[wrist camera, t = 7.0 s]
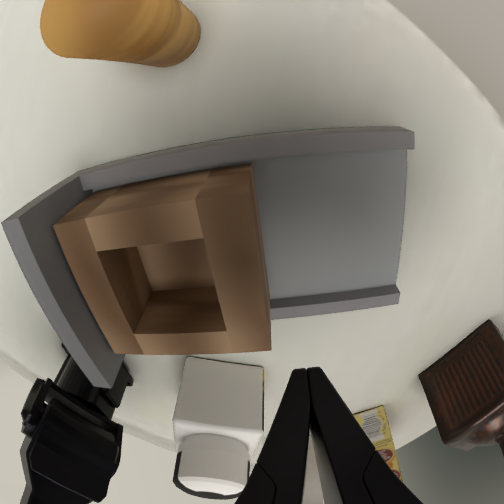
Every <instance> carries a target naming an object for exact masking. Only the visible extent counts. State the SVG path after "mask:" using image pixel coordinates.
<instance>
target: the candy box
mask: <svg viewBox="0 0 504 504" xmlns="http://www.w3.org/2000/svg"><path fill="white" fill-rule="evenodd" d="M353 416H354V417H355V419H356V420H357V421H358V423H359V424H360V426H361V427H362V429H363V430H364V432H365V433H366V435H367V436H368V437H369V439H370V440H371V442H372V443H373V445H374V446H375V448H376V449H375V450H378V452H379V453H380V455H381V456H382V458H383V459H384V460H385V462H386V463H387V464H388V466H389V467H390V468H391V470H392V471H393V472H394V473H395V474H396V476H397V477H398V478H399V479H400V480H401V481H402V476H401V472H400V467H399V463H398V459H397V455H396V451H395V447H394V443H393V439H392V436H391V432H390V428H389V424H388V421H387V417H386V413H385V410H384V406H380V407H377V408H374V409H371V410H368V411H365V412H362V413H358V414H355V415H353ZM402 482H403V481H402Z"/></svg>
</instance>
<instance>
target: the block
mask: <svg viewBox="0 0 504 504" xmlns="http://www.w3.org/2000/svg"><path fill="white" fill-rule="evenodd" d="M53 227H54V230H55V232H56V235H57V237H58V240H59V242H60V245H61V247H62V250H63V252H64V254H65V257H66V259H67V261H68V264H69V266H70V268H71V270H72V273H73V275H74V277H75V279H76V281H77V283H78V285H79V288H80V290H81V292H82V294H83V296H84V298H85V300H86V302H87V304H88V306H89V308H90V310H91V311H92V313H93V315H94V317H95V319H96V321H97V323H98V325H99V326H100V328H101V330H102V332H103V333H104V335H105V337H106V339H107V340H108V342H109V344H110V346H111V347H112V349H113V351H114V352H115V354H147V355H189V354H222V353H242V352H257V351H270V350H271V320H270V294H269V286H268V278H267V271H266V263H265V256H264V248H263V241H262V233H261V226H260V219H259V211H258V204H257V197H256V190H255V182H254V175H253V168H252V163H248V164H240V165H233V166H225V167H218V168H212V169H205V170H199V171H193V172H187V173H181V174H175V175H170V176H164V177H159V178H154V179H149V180H144V181H139V182H134V183H129V184H124V185H120V186H115V187H111V188H107V189H102V190H98V191H95V192H94V193H92V194H91V195H90V196H88V197H87V198H86V199H85V200H83V201H82V202H81V203H79V204H78V205H77V206H76V207H74V208H73V209H72V210H71V211H70V212H68V213H67V214H66V215H65V216H63V217H62V218H61V219H60V220H59V221H57V222H56V223H55V224H54V225H53Z"/></svg>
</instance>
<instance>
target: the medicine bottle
mask: <svg viewBox="0 0 504 504" xmlns="http://www.w3.org/2000/svg"><path fill="white" fill-rule="evenodd" d="M173 428H174V438H175V447H176V450H177V451H178V453H177V459H176V465H175V470H174V477H173V482H174V484H175V485H176V487H178V488H179V489H181V490H182V491H184V492H186V493H188V494H191V495H194V496H198V497H202V498H208V499H233V498H236V497H239V496H240V494H241V492H242V491H243V489H244V487H245V485H246V483H247V481H248V479H249V472H250V458H251V456H252V454H253V453H254V451H255V449H256V447H257V445H258V443H259V441H260V439H261V437H262V435H263V432H264V369H263V368H262V367H256V366H248V365H240V364H233V363H226V362H219V361H212V360H206V359H200V358H194V357H188V358H187V359H186V362H185V366H184V370H183V375H182V379H181V384H180V388H179V393H178V397H177V402H176V406H175V411H174V416H173Z"/></svg>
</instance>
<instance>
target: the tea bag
mask: <svg viewBox="0 0 504 504" xmlns="http://www.w3.org/2000/svg"><path fill="white" fill-rule="evenodd" d="M303 504H323V493H322V488H321V483H320V478H319V473H318V468H317V463H316V458H315V453H314V448H313V443H312V438H311V435H309V446H308V458H307V468H306V478H305V487H304V496H303Z"/></svg>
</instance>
